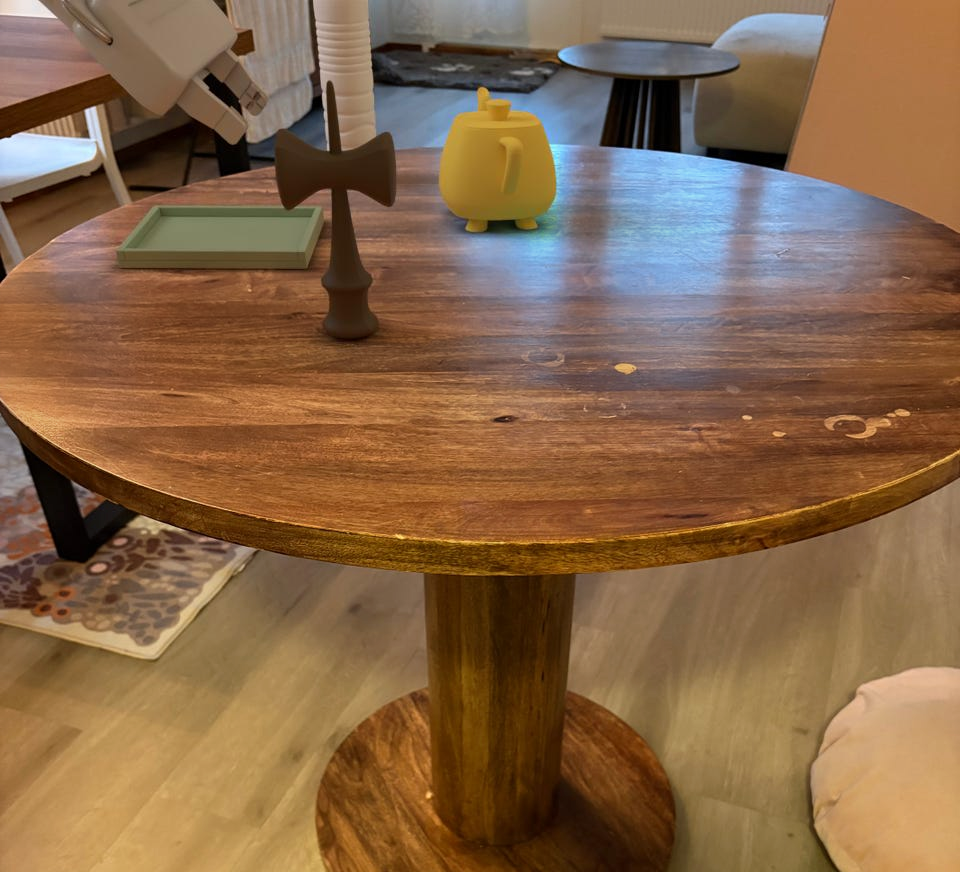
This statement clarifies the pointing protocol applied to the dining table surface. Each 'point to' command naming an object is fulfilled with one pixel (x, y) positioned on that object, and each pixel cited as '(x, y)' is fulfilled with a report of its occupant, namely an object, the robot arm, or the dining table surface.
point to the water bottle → (347, 67)
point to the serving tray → (223, 237)
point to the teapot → (497, 166)
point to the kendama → (339, 210)
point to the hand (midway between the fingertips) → (253, 121)
